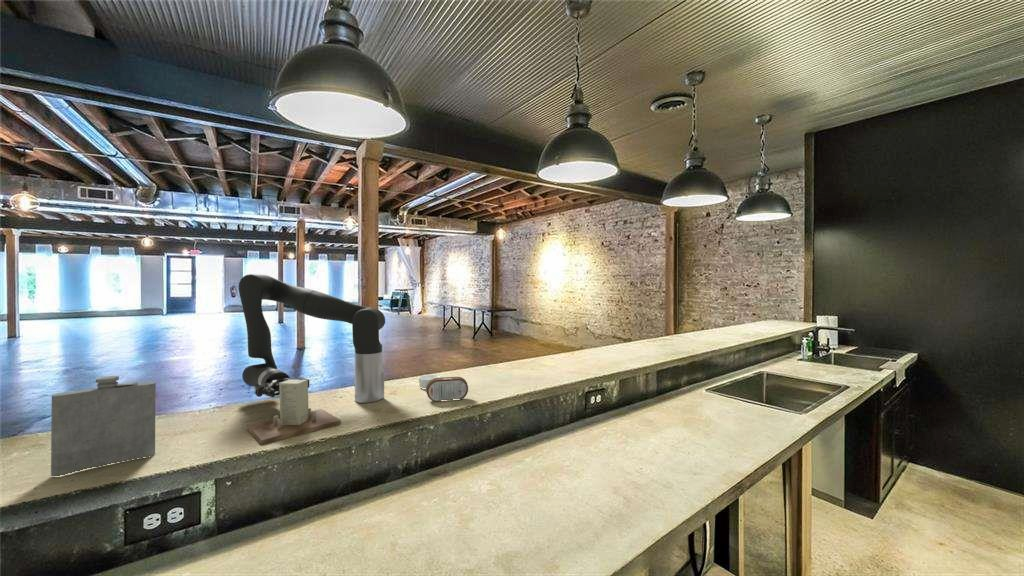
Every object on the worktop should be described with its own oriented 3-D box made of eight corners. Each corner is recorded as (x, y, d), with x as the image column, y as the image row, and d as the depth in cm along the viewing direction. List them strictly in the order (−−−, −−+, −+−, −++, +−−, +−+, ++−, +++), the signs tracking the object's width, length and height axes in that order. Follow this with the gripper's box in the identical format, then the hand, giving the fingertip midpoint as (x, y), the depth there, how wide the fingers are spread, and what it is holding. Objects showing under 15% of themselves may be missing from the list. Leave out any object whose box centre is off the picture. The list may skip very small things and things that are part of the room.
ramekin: (443, 388, 149) (443, 377, 149) (422, 391, 144) (422, 380, 144) (436, 383, 157) (436, 373, 157) (415, 386, 152) (415, 376, 152)
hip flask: (49, 480, 77) (50, 384, 77) (53, 472, 80) (54, 381, 80) (155, 456, 88) (155, 373, 88) (155, 450, 91) (155, 370, 91)
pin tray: (321, 412, 119) (321, 401, 119) (340, 424, 109) (340, 411, 109) (247, 429, 105) (247, 416, 105) (261, 444, 95) (261, 430, 95)
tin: (467, 397, 136) (467, 375, 136) (468, 400, 133) (468, 377, 133) (426, 401, 132) (426, 377, 132) (426, 403, 129) (426, 379, 129)
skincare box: (309, 420, 109) (309, 379, 109) (298, 425, 104) (299, 383, 104) (289, 419, 109) (289, 378, 110) (278, 425, 105) (278, 382, 105)
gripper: (248, 373, 116) (262, 382, 105) (297, 366, 127) (315, 374, 116) (248, 397, 116) (261, 408, 105) (297, 388, 127) (315, 398, 116)
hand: (289, 390), depth 110 cm, fingers open, 8 cm apart
